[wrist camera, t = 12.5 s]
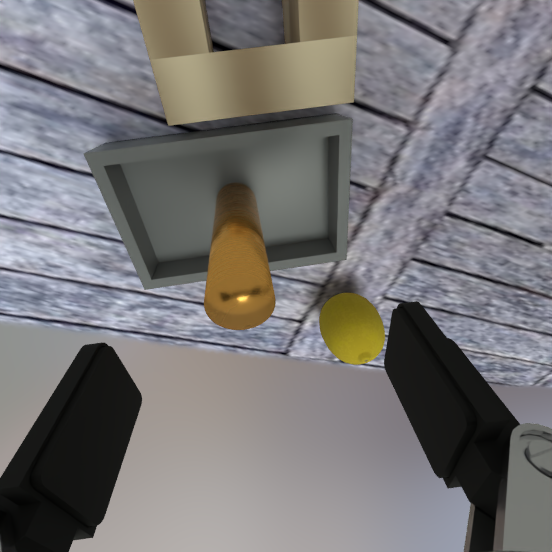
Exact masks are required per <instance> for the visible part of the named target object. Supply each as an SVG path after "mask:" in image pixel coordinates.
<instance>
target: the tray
mask: <svg viewBox="0 0 552 552" xmlns="http://www.w3.org/2000/svg"><path fill="white" fill-rule="evenodd" d="M352 123H353V119H352V118H349V117H345V116H342V115H339V114H336V113H335V114H328V115H320V116H312V117H304V118H296V119H289V120H281V121H273V122H265V123H257V124H249V125H242V126H234V127H226V128H218V129H210V130H203V131H195V132H187V133H179V134H171V135H164V136H156V137H148V138H140V139H132V140H125V141H117V142H109V143H104V144H102V145H100V146H98V147H96V148H94V149H92V150H90V151H88V152H86V153H84V156H85V158H86V160H87V162H88V165H89V167H90V169H91V171H92V173H93V176H94V178H95V180H96V182H97V185H98V187H99V189H100V191H101V193H102V196H103V198H104V200H105V202H106V205H107V207H108V209H109V211H110V213H111V216H112V218H113V220H114V222H115V225H116V227H117V229H118V231H119V234H120V236H121V238H122V240H123V242H124V245H125V247H126V249H127V251H128V254H129V256H130V258H131V260H132V262H133V265H134V267H135V269H136V271H137V274H138V276H139V278H140V280H141V282H142V285H143V287H144V289H145V290H146V289H153V288H160V287H167V286H173V285H180V284H187V283H194V282H200V281H207V273H208V265H209V257H210V249H211V240H212V232H213V224H214V216H215V207H216V199H217V195H218V193H219V191H220V190H221V188H223V187H224V186H225V185H227V184H230V183H242V184H244V185H246V186H248V187H249V188H250V189H251V190H252V191H253V193H254V195H255V197H256V202H257V207H258V212H259V218H260V223H261V228H262V233H263V238H264V243H265V248H266V254H267V259H268V264H269V269H270V271H274V270H281V269H288V268H294V267H301V266H308V265H315V264H321V263H328V262H335V261H341V260H346V258H347V235H348V213H349V190H350V168H351V145H352Z"/></svg>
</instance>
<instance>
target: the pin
mask: <svg viewBox="0 0 552 552" xmlns="http://www.w3.org/2000/svg"><path fill="white" fill-rule="evenodd" d="M275 303H276V302H275V295H274V289H273V284H272V279H271V274H270V269H269V264H268V259H267V254H266V248H265V243H264V238H263V233H262V228H261V223H260V218H259V212H258V207H257V202H256V197H255V195H254V193H253V191H252V190H251V189H250V188H249V187H248V186H246V185H244V184H242V183H230V184H227V185H225V186H224V187H223V188H221V190H220V191H219V193H218V195H217V199H216V207H215V216H214V224H213V232H212V240H211V249H210V257H209V265H208V273H207V282H206V290H205V298H204V308H205V311H206V314H207V315H208V317H209V318H210V319H211V320H212V321H213V322H214V323H216V324H217V325H219V326H221V327H224V328H227V329H232V330H245V329H250V328H253V327H256V326H258V325H260V324H262V323H263V322H265V321H266V320H267V319H268V318H269V317H270V316H271V314H272V313H273V311H274V308H275Z"/></svg>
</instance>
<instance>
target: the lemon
mask: <svg viewBox="0 0 552 552" xmlns="http://www.w3.org/2000/svg"><path fill="white" fill-rule="evenodd" d="M319 323H320V331H321V335H322V337H323V339H324V341H325V343H326V345H327V347H328V348H329V350H330V351H331V352H332V353H333V354H334V355H335V356H336V357H337V358H338V359H340V360H342V361H344V362H346V363H350V364H364V363H367V362H369V361H371V360H373V359H374V358H376V356H377V355H378V354H379V353H380V352H381V350H382V348H383V345H384V341H385V331H384V326H383V322H382V320H381V317H380V315H379V313H378V311H377V310H376V308H375V307H374V306H373V305H372V304H371V303H370V302H369V301H368V300H367V299H366V298H364V297H362V296H360V295H358V294H354V293H341V294H337V295H335V296H333V297H331V298H330V299H329V300H328V301H327V302H326V303H325V304H324V306H323V308H322V310H321V313H320V317H319Z"/></svg>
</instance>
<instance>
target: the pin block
mask: <svg viewBox="0 0 552 552" xmlns="http://www.w3.org/2000/svg"><path fill="white" fill-rule="evenodd" d="M133 1H134V5H135V8H136V12H137V15H138V19H139V23H140V26H141V30H142V33H143V37H144V41H145V44H146V48H147V51H148V55H149V59H150V62H151V66H152V69H153V73H154V76H155V80H156V84H157V87H158V91H159V94H160V98H161V102H162V105H163V109H164V112H165V116H166V120H167V123H168V126H170V125H178V124H186V123H194V122H202V121H210V120H218V119H226V118H233V117H241V116H249V115H257V114H265V113H273V112H281V111H289V110H296V109H304V108H312V107H320V106H328V105H336V104H344V103H352V102H354V87H355V65H356V43H357V21H358V0H282V8H283V23H284V39H285V44H280V45H272V46H263V47H255V48H246V49H238V50H229V51H221V52H214V51H213V45H212V39H211V34H210V28H209V22H208V17H207V11H206V5H205V0H133Z"/></svg>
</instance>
